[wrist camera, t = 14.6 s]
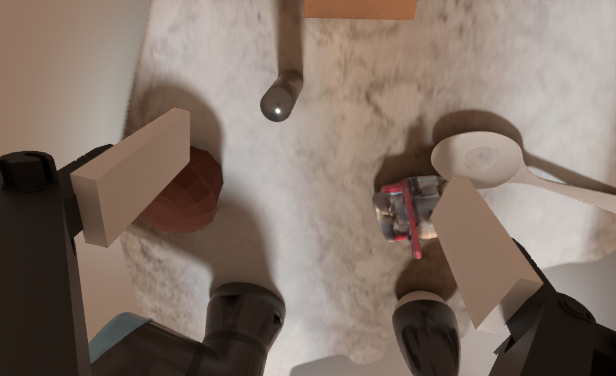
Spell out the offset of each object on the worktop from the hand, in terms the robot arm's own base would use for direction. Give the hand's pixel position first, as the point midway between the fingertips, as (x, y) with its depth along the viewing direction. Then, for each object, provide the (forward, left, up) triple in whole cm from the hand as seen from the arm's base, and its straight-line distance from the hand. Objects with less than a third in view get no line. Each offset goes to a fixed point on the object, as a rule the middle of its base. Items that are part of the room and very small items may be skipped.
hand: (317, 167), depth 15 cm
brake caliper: (-9, -19, -24) cm, 32 cm away
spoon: (+3, -32, -24) cm, 40 cm away
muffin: (-23, +9, -24) cm, 35 cm away
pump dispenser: (-25, -35, -24) cm, 49 cm away
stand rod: (-4, +3, -24) cm, 24 cm away
